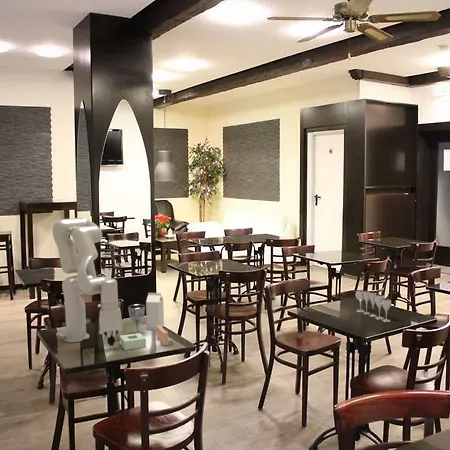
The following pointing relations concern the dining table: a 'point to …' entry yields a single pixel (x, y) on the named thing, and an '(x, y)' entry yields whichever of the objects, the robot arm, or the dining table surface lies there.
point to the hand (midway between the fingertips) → (111, 344)
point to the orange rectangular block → (162, 335)
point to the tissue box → (132, 341)
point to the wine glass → (136, 313)
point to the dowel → (118, 336)
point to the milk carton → (154, 311)
